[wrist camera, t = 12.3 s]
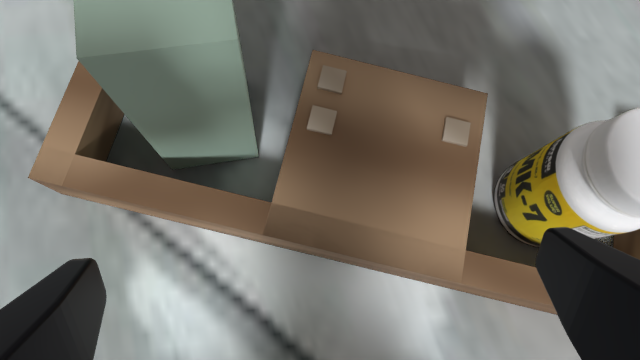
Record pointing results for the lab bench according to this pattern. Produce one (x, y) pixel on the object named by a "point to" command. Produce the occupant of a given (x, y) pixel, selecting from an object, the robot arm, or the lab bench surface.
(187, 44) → the sage block
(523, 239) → the supplement bottle
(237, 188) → the lab bench surface
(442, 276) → the slot rack
